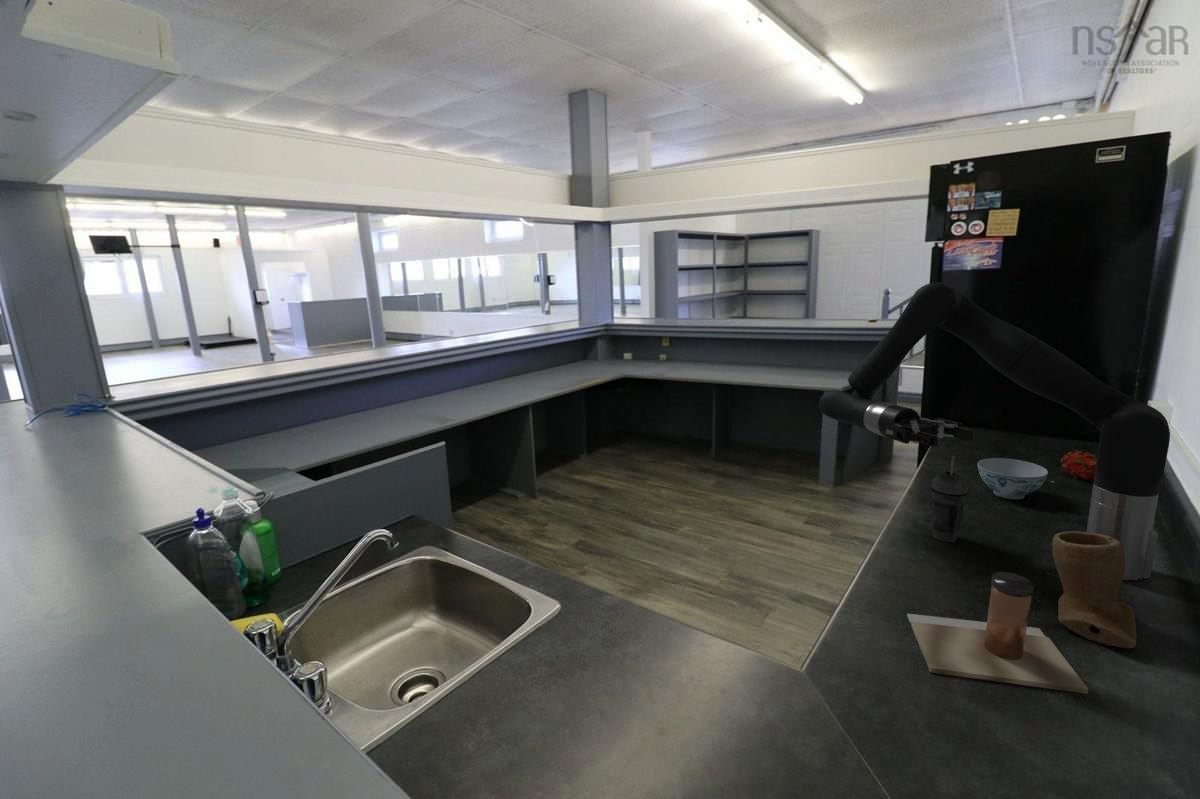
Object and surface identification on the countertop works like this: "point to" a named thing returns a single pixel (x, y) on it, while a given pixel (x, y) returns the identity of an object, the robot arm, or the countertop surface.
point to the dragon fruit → (1080, 464)
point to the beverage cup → (948, 504)
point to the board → (995, 658)
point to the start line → (962, 623)
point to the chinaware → (1011, 476)
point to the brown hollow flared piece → (1093, 588)
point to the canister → (1008, 615)
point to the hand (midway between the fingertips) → (954, 439)
